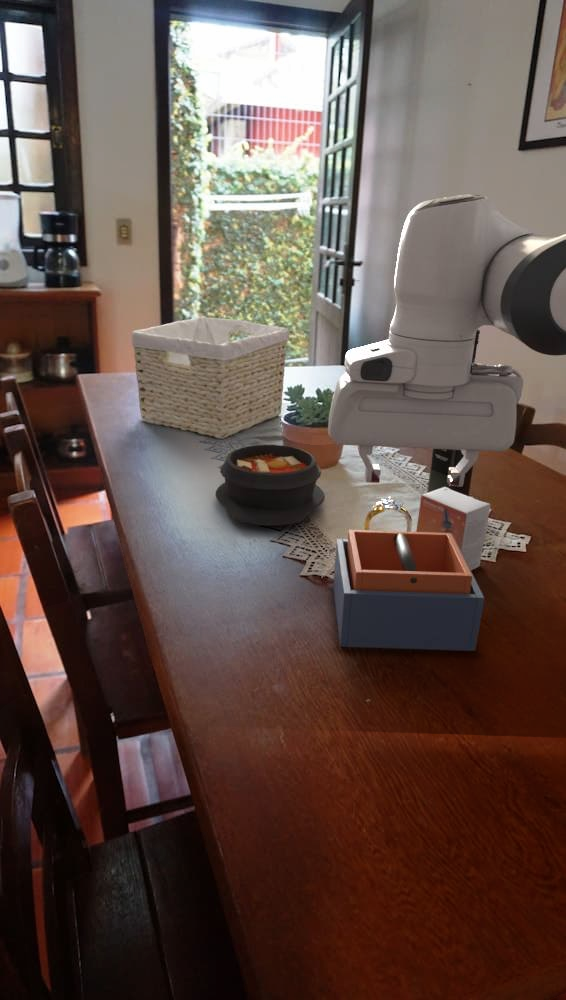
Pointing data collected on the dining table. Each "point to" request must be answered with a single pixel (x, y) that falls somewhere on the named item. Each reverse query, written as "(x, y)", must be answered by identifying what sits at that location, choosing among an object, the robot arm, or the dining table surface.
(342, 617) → the lower bin
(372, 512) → the ring
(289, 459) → the casserole
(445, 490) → the small box
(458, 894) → the dining table surface
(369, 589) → the orange bin
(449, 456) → the wine bottle
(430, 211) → the robot arm
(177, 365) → the basket
